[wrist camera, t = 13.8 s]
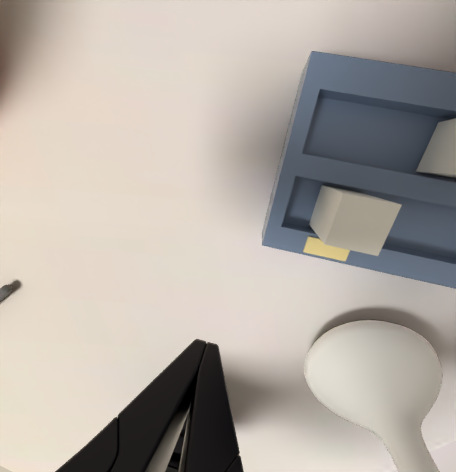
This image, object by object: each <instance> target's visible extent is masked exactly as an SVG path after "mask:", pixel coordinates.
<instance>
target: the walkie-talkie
mask: <svg viewBox="0 0 456 472" xmlns="http://www.w3.org/2000/svg"><path fill="white" fill-rule="evenodd" d="M11 292H12V286H11V285H5V286H3V287H2V288H1V289H0V301H1V300H2V299H4V298H5V297H6V296H7V295H9V294H10V293H11Z"/></svg>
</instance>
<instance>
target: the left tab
mask: <svg viewBox="0 0 456 472" xmlns="http://www.w3.org/2000/svg"><path fill="white" fill-rule="evenodd" d="M401 206H402V205H401V204H398V203H394V202H391V201H388V200H385V199H381V198H378V197H375V196H371V195H368V194H365V193H360V192H355V191H350V190H345V189H340V188H334V187H329V186H324V185H322V186H321V189H320V192H319V195H318V198H317V201H316V204H315V207H314V210H313V214H312V217H311V220H310V223H309V225H310V226H311V227H312V229H313V230H314V231H315V233H316V234H317V235H318V237H319V238H320V239H321V240H322V242H323V243H324V244H325V245H329V246H334V247H338V248H343V249H347V250H352V251H356V252H361V253H366V254H370V255H375V256H378V255H379V253H380V251H381V249H382V247H383V244H384V242H385V240H386V238H387V236H388V234H389V232H390V229H391V227H392V225H393V223H394V221H395V219H396V217H397V214H398V212H399V210H400V208H401Z"/></svg>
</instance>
